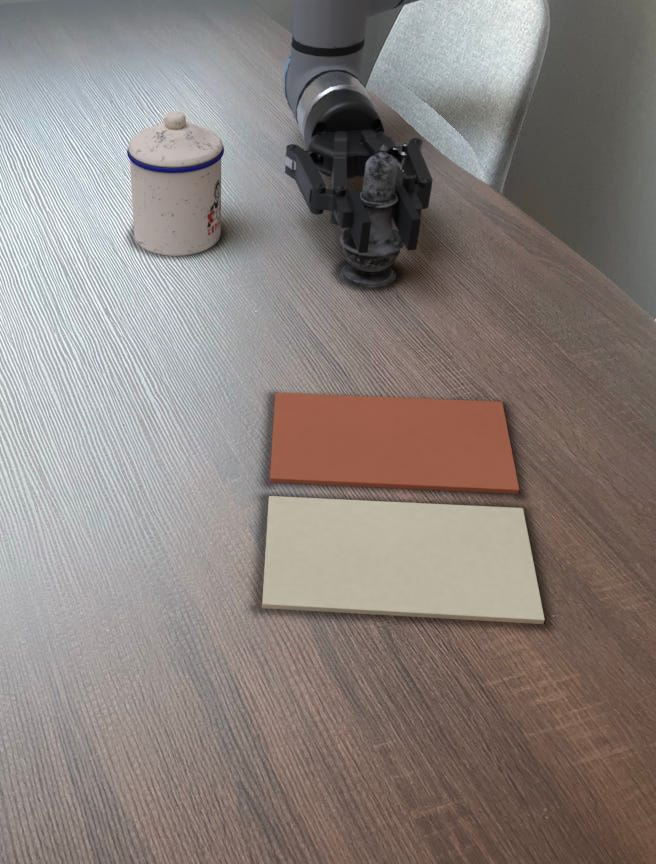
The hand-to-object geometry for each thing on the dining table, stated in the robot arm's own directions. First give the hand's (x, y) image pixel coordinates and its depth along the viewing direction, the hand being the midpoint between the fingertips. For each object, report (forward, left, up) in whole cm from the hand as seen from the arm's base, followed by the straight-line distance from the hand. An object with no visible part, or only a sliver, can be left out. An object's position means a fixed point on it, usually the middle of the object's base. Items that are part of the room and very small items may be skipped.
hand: (389, 236), depth 88 cm
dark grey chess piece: (+1, -5, -7) cm, 9 cm away
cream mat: (0, +34, -7) cm, 34 cm away
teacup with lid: (+20, -13, -7) cm, 25 cm away
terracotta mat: (0, +21, -7) cm, 22 cm away
